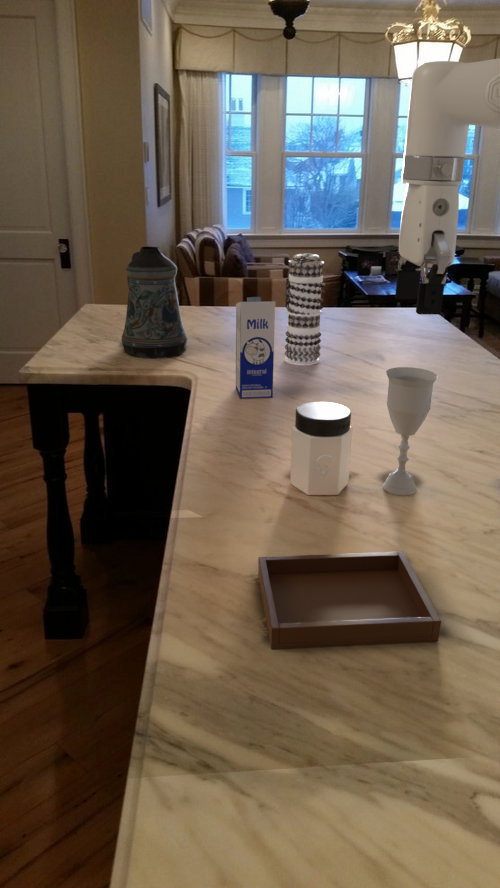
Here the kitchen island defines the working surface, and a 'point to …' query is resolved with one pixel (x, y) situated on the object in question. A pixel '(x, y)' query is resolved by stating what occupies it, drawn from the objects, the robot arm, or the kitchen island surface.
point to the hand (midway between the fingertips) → (416, 306)
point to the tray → (344, 600)
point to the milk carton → (255, 348)
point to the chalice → (407, 417)
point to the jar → (321, 448)
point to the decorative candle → (304, 309)
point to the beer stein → (153, 307)
